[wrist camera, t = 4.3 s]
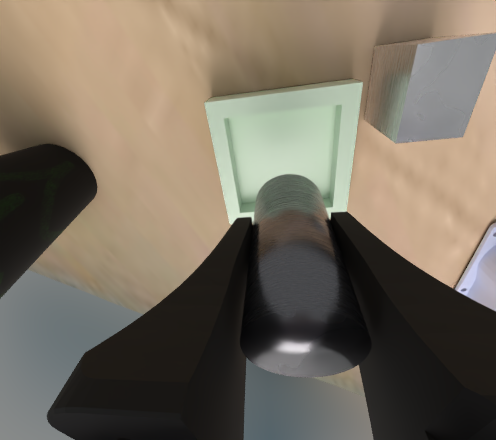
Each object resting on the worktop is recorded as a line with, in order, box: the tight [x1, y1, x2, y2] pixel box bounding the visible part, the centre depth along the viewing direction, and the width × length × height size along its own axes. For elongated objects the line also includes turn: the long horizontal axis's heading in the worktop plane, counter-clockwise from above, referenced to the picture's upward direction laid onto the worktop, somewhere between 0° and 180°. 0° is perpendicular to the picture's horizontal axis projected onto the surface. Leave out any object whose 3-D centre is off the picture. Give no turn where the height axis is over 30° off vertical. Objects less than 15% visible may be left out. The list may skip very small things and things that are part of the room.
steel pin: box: [240, 174, 372, 377], centre depth 9 cm, size 3×3×7 cm
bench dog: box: [364, 33, 496, 143], centre depth 13 cm, size 4×3×5 cm
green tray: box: [204, 79, 363, 224], centre depth 17 cm, size 9×9×2 cm
